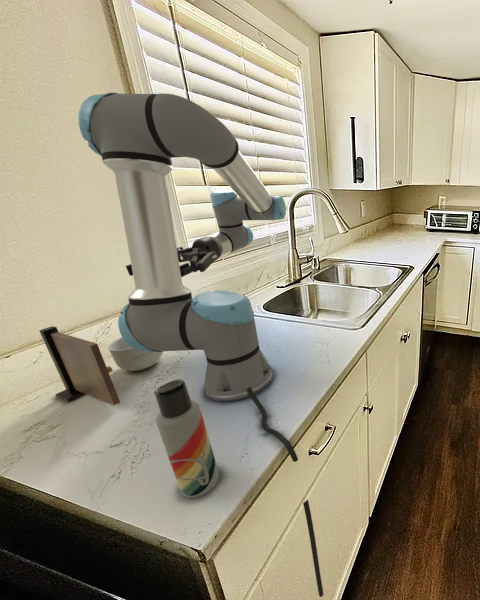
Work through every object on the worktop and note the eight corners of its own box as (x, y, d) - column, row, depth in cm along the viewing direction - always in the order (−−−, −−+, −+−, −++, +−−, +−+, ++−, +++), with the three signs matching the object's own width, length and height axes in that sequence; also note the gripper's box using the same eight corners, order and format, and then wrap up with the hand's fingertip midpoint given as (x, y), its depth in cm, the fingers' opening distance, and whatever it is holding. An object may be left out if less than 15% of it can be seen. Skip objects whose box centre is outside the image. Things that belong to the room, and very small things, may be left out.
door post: (56, 397, 77) (25, 333, 71) (86, 383, 82) (60, 322, 76) (68, 402, 75) (38, 337, 69) (98, 387, 81) (73, 325, 74)
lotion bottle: (193, 504, 52) (158, 401, 44) (173, 489, 54) (137, 389, 47) (226, 477, 56) (199, 380, 49) (206, 464, 59) (178, 370, 51)
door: (75, 390, 78) (50, 333, 72) (87, 384, 80) (63, 329, 74) (114, 405, 72) (90, 346, 67) (126, 398, 74) (103, 340, 69)
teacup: (140, 378, 84) (130, 351, 81) (106, 373, 86) (95, 347, 83) (183, 351, 96) (176, 326, 94) (153, 347, 99) (145, 324, 96)
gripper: (247, 263, 101) (189, 293, 83) (184, 254, 107) (119, 281, 90) (241, 239, 97) (180, 266, 79) (177, 232, 104) (107, 255, 86)
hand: (147, 274), depth 84 cm, fingers open, 13 cm apart
